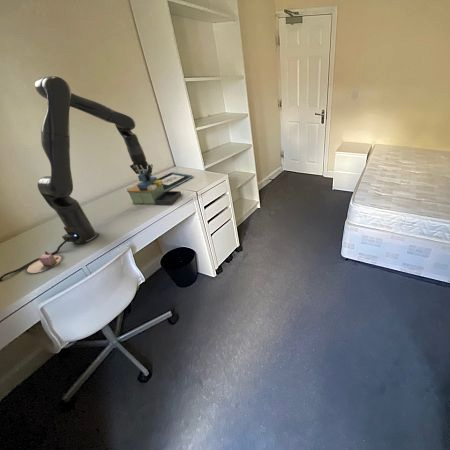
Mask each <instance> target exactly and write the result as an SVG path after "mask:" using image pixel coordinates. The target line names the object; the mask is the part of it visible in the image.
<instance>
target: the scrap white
mask: <svg viewBox="0 0 450 450" xmlns="http://www.w3.org/2000/svg"><path fill="white" fill-rule="evenodd" d="M156 188H157V186H156V185H149V186H148V187H147V189H148V190H154V189H156Z"/></svg>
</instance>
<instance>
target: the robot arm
mask: <svg viewBox="0 0 450 450" xmlns="http://www.w3.org/2000/svg"><path fill="white" fill-rule="evenodd" d="M34 88H35V90H36V92H37V93H38V95H40V96H41V97H42V98H44V99H45V100H46V101H47V110H46V113H45V116H44V119H43V121H42V124H41V129H40V143H41V147H42V150H43V152H44V154H45V155H46V157H47V160H48V161H49V164H50V175H47V176H43V177H41V178H40V179H38V181H37V189H38V191H39V194H40V195H41V196H42V198H43V199H44V200H45V202H46V203H47V204H48V206H49V207H50V208H51V209H53V210H54V211H55V213H56V214H57V216H58V217H59V219H60V221H61V223H62V224H63V229H64V231H65V234H64V235H62V236H61V238H62V240H63V242H61V243H60V244H59V245H58V247H57V249H56V250H55V251H53V252H51V253H50V254H52V255H53V256H54V255H56V254H57V253H58V252H59V251H60V249H61V248H62V247H63V246H64V245H65V244H66V243H73V244H84V245H85V244H86V243H88V242H91V241H93V240H95V238H97V236H98V234H97V232H96V230H95V228H94V227H93V225H92V223H91V222H90V220H89V218H88V217H87V215H86V213H85V211H84V210H83V208H82V206H81V204H80V203H79V201H78V200H77V199H75V198H73V197H72V196H71V195H72V193H73V191H74V181H73V175H72V168H71V134H70V133H71V132H70V111H71V109H70V108H72V109H75V110H78V111H81V112H83V113H86V114H88V115H91V116H93V117H95V118H97V119H100V120H102V121H104V122H106V123H110V124H114V127H115V128H116V130H117V131H118V133H119V134H120V136H121V137H122V138H123V141H124V144H125V145H126V149H127V150H126V151H127V153H128V156H129V157H130V160H131V162H132V164H130V165H129V168H131V169H132V171H133V172H134V174H136V175H138V176H139V175H140V174H142V173H143V172H144V173H145V176H146V178H147V181H149V180H150V179H151V178H150V175H149V174H150V173H151V174H152V173H153V167H154V165H153V164H152V163H151V164H150V163H149V162H148V161H147V158H146V155H145V151H144V149H143V147H142V145H141V142H140V140H139V137H138V135H137V134H136V133H134V132H133V130H134V129H136V126H137V124H136V121H135V120H134V119H133V118H132V116H130V115H128V114H125V113H122V112H119V111H117V110H114V109H112V108H110V107H109V106H107V105H105V104H102V103H100V102H97V101H95V100H93V99H89V98H85V97H83V96H80V95H77V94H75V93H73V92H72V89H71V87H70V85H69V83H68V82H67V81H66V80H65V79H64V78H63V77H59V76H56V75H55V76H54V75H51V76H50V75H49V76H44V77H43V76H42V77H39V78H38V79H37V80H36V81H35V82H34ZM38 258H39V257H37V258H36V259H33V260H31V261H29V262H27V263H26V264H24V265H23V266H21V267H18V268H17V269H14V270H12V271H11V270H10V271H8V272H5V273H3V274H2V275H1V276H0V282H1V281H2V280H3V278H5V277H6V276H9V275H11V274H14V273H17V272H19V271H21V270H23V269H25V268H28V267H29V266H30V265H31V264H33V263H34V262H36V261H38V260H39V259H38ZM31 329H32V330H36V327H35V325H33V327H31Z"/></svg>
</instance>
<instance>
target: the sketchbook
mask: <svg viewBox="0 0 450 450" xmlns="http://www.w3.org/2000/svg"><path fill="white" fill-rule="evenodd" d="M193 177H194V176H193V175H191V174H188V173H181V172H176V171H171V172H168V173H167V174H165V175H163V176H161V177H158V178H157V180H162V181H163V184H162V186H163V189H164V191H171V189H173V188H176V187H177V186H179V185H181V184H183V183H185V182H187V181H189V180H190V179H192V178H193Z"/></svg>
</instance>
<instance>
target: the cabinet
mask: <svg viewBox="0 0 450 450" xmlns="http://www.w3.org/2000/svg"><path fill="white" fill-rule="evenodd" d="M141 182H142V181H138V182H137V183H136V184H135V185H134V186H133V185H132V187H130V188H129V189H127V190H126V192H127V193H128V195H129V197H130V199H131V200H132V203H133V204H135V205H156V203H155V201H154V200H155V199H157V198H158V197H159V196H160V195H162V194H163V193H164V192H165V191H164V189H163V186H162V184H163V183H162V184H161V185H156V186H157V188H156V189H154V190H147V191H140V190H139V188H138V186H137V185H138V184H139V183H141Z"/></svg>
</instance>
